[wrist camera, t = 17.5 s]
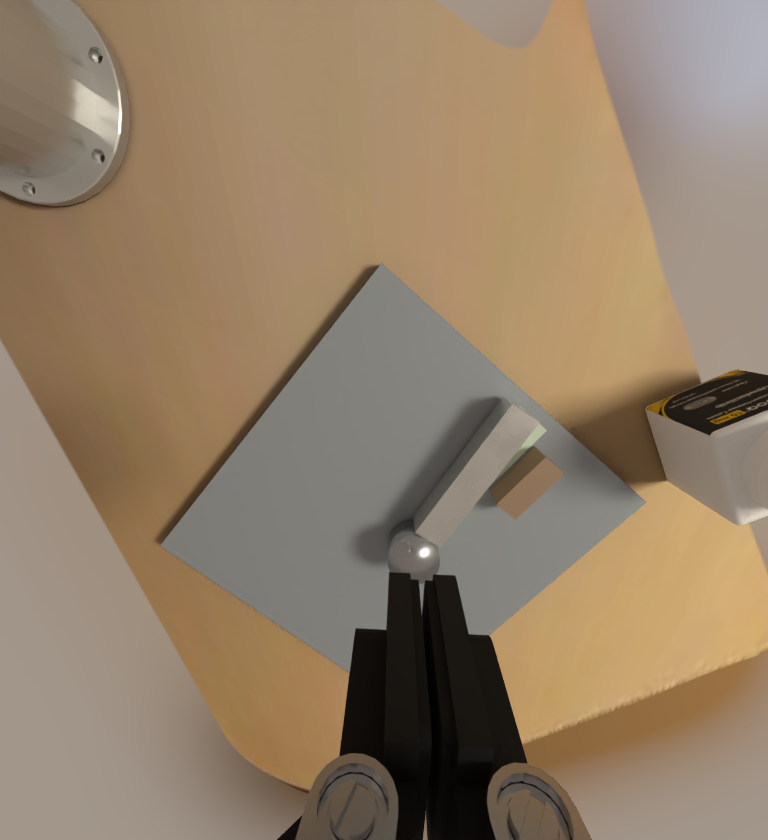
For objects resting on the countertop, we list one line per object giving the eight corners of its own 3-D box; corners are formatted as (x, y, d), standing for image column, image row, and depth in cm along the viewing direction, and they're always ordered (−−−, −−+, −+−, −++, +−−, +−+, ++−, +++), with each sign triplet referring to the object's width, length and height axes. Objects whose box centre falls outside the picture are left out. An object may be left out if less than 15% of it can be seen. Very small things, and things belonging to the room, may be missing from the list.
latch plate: (167, 537, 35) (142, 563, 32) (382, 264, 28) (380, 259, 25) (402, 696, 40) (403, 734, 36) (637, 495, 33) (666, 517, 29)
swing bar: (418, 568, 34) (421, 593, 31) (379, 546, 33) (377, 569, 30) (536, 418, 29) (551, 430, 27) (493, 390, 29) (504, 399, 26)
